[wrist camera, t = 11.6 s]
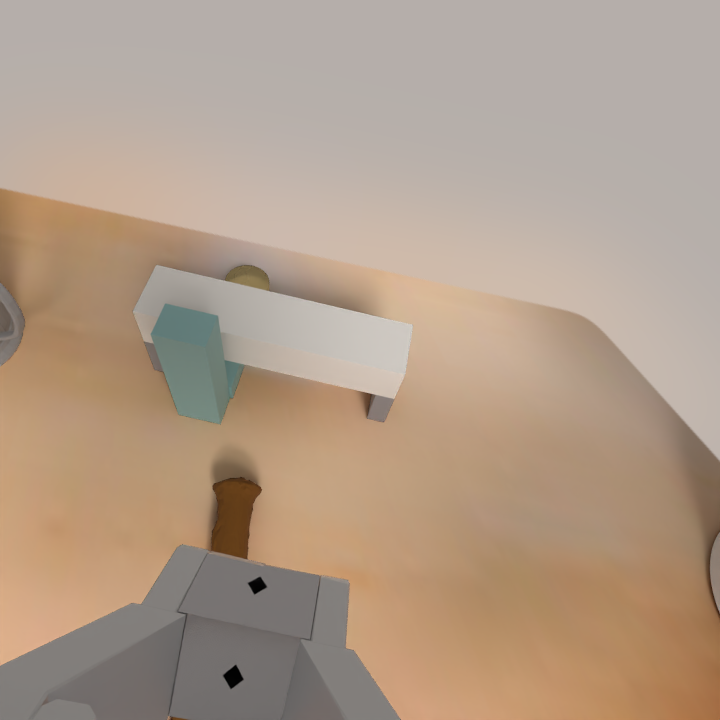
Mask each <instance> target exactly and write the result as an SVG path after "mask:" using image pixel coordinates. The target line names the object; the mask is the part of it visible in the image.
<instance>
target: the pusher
mask: <svg viewBox="0 0 720 720" xmlns="http://www.w3.org/2000/svg"><path fill="white" fill-rule="evenodd" d="M150 335H151V337H152V340H153V343H154V346H155V349H156V352H157V354H158V357H159V360H160V363H161V366H162V369H163V372H164V374H165V377H166V380H167V383H168V386H169V389H170V392H171V394H172V397H173V400H174V403H175V406H176V409H177V412H178V414H179V415H182V416H186V417H191V418H195V419H200V420H204V421H208V422H213V423H217V424H221V422H222V419H223V416H224V413H225V411H226V408H227V405H228V402H229V399H230V398H233V397H234V394H235V391H236V388H237V385H238V382H239V379H240V377H241V374H242V371H243V368H244V364H240V363H235V362H231V361H227V360H224V353H223V346H222V339H221V333H220V326H219V319H218V316H217V315H213V314H209V313H204V312H200V311H196V310H192V309H187V308H183V307H179V306H174V305H170V304H166V303H165V305H164V307H163V309H162V311H161V313H160V315H159V318H158V320H157V322H156V324H155V326H154V328H153V330H152V332H151V334H150Z"/></svg>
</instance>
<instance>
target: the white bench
mask: <svg viewBox="0 0 720 720" xmlns="http://www.w3.org/2000/svg"><path fill="white" fill-rule="evenodd" d="M165 303H166V304H170V305H174V306H179V307H183V308H187V309H192V310H196V311H200V312H204V313H209V314H213V315H217V316H218V319H219V326H220V333H221V339H222V346H223V353H224V360H227V361H231V362H235V363H240V364H244V365H249V366H253V367H257V368H262V369H266V370H270V371H275V372H279V373H283V374H288V375H292V376H296V377H301V378H305V379H309V380H314V381H318V382H322V383H327V384H331V385H335V386H340V387H344V388H348V389H353V390H357V391H361V392H366V393H370V394H372V395H371V401H370V406H369V411H368V416H367V419H372V420H376V421H380V422H384V421H385V419H386V417H387V415H388V412H389V410H390V408H391V406H392V403H393V401H394V399H395V397H396V394H397V392H398V390H399V387H400V385H401V383H402V381H403V378H404V376H405V373H406V366H407V360H408V354H409V347H410V341H411V335H412V329H413V325H412V324H407V323H403V322H399V321H394V320H390V319H386V318H382V317H377V316H373V315H369V314H365V313H360V312H356V311H352V310H348V309H343V308H339V307H335V306H330V305H326V304H322V303H318V302H313V301H309V300H305V299H301V298H296V297H292V296H288V295H284V294H279V293H275V292H271V291H267V290H262V289H258V288H254V287H249V286H245V285H241V284H237V283H232V282H228V281H224V280H220V279H215V278H211V277H207V276H203V275H198V274H194V273H190V272H185V271H181V270H177V269H173V268H168V267H164V266H160V265H156V266H155V268H154V270H153V272H152V274H151V276H150V278H149V280H148V282H147V284H146V286H145V288H144V290H143V292H142V294H141V296H140V298H139V300H138V302H137V304H136V306H135V308H134V310H133V314H134V316H135V319H136V322H137V324H138V327H139V330H140V332H141V335H142V338H143V340H144V343H145V346H146V348H147V351H148V354H149V356H150V359H151V362H152V364H153V367H154V370H158V371H162V372H163V369H162V366H161V363H160V360H159V357H158V354H157V352H156V349H155V346H154V343H153V340H152V337H151V335H150V334H151V332H152V330H153V328H154V326H155V324H156V322H157V320H158V318H159V315H160V313H161V311H162V309H163V307H164V305H165Z"/></svg>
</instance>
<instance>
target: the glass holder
mask: <svg viewBox="0 0 720 720" xmlns="http://www.w3.org/2000/svg"><path fill="white" fill-rule="evenodd" d="M24 327H25V319H24V316H23V314H22V311H21V309H20V308H19V306H18V304H17V303H16V301H15V299H14V298H13V297H12V295H11V294H10V293H9V292H8V290H7V289H6V288H5V287H4V286H3V285H2V284H1V283H0V366H1V365H3V364H4V363H5V362H6V361H7V360H8V359H9V358H10V357H11V356H12V355H13V354H14V352H15V351H16V350H17V348H18V346H19V344H20V342H21V339H22V336H23V330H24Z"/></svg>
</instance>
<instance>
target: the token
mask: <svg viewBox="0 0 720 720" xmlns="http://www.w3.org/2000/svg"><path fill="white" fill-rule="evenodd" d="M225 281H228V282H232V283H237V284H241V285H245V286H249V287H254V288H258V289H262V290H267V291H269V278H268V276H267V274H266V273H265V272H264V271H263V270H261V269H260V268H258V267H255V266H249V265H244V266H239V267H236V268H234V269H233V270H231V271H230V272H229V273H228V274H227V276H226V279H225Z"/></svg>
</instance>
